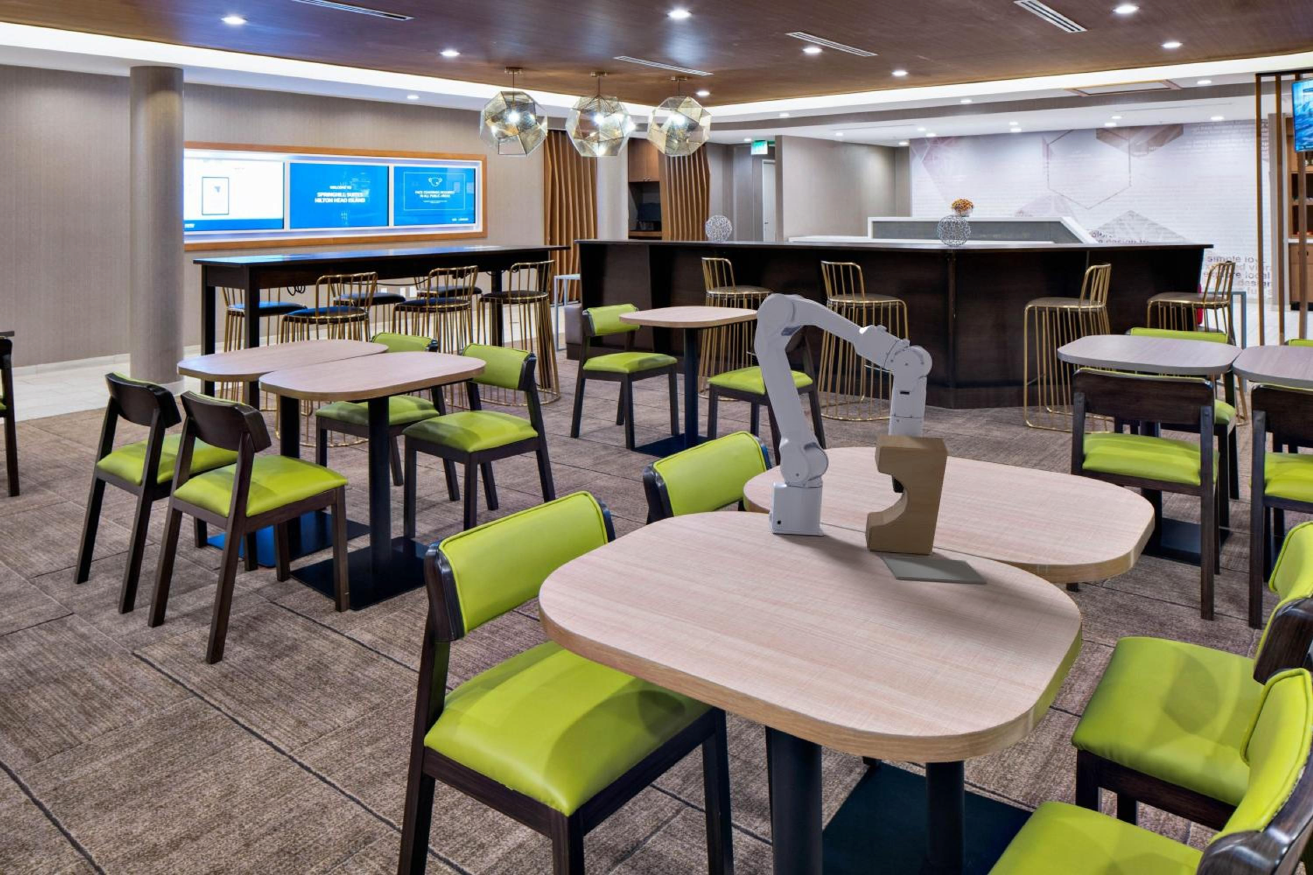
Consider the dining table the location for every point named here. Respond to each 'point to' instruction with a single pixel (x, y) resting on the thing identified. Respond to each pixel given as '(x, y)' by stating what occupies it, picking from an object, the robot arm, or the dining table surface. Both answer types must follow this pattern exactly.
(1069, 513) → the dining table surface
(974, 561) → the dining table surface
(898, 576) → the grey flat plate
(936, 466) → the decorative block
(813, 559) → the dining table surface
